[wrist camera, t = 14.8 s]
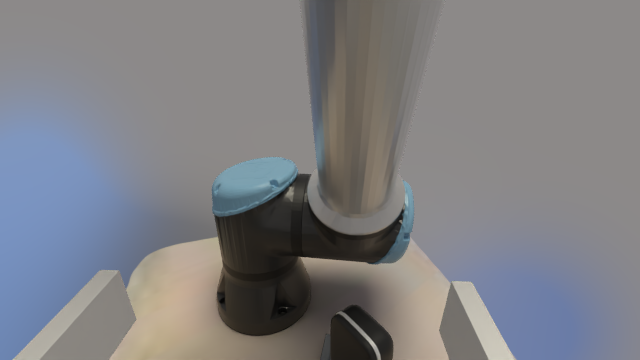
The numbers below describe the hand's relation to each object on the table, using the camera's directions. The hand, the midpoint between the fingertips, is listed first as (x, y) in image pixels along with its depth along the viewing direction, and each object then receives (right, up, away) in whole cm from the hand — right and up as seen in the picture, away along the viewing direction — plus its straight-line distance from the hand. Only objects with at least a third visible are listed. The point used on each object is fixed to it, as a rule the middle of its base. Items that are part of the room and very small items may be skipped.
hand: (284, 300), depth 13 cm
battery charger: (+6, -21, +25) cm, 33 cm away
